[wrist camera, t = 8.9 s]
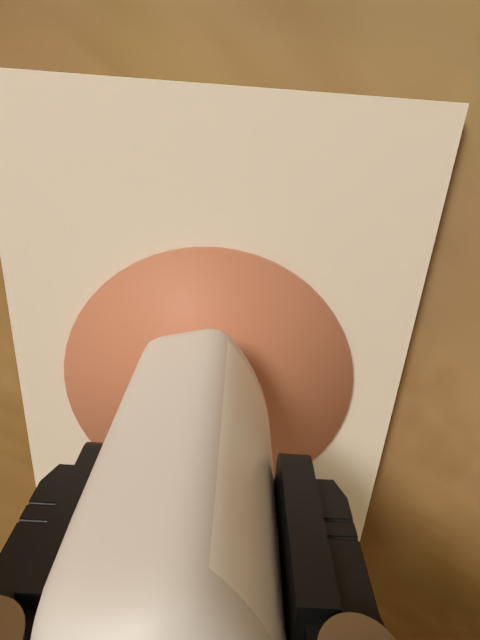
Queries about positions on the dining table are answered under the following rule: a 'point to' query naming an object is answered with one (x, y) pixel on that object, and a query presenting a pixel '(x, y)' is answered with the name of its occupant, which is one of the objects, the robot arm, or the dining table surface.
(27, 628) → the robot arm
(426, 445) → the dining table surface
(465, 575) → the dining table surface
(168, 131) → the card
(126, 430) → the eye dropper bottle
